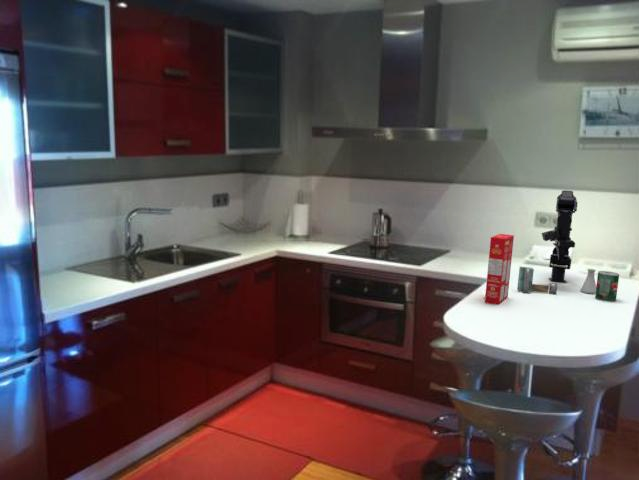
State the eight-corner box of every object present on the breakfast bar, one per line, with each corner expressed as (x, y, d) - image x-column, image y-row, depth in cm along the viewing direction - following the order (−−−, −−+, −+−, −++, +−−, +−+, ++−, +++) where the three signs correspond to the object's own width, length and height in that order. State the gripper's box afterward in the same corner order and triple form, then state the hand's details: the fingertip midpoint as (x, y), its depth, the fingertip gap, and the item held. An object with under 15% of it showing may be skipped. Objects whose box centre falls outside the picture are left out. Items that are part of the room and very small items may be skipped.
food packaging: (494, 295, 240) (500, 233, 237) (507, 297, 238) (513, 235, 234) (484, 302, 228) (490, 237, 224) (498, 304, 225) (505, 239, 221)
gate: (546, 291, 252) (549, 268, 250) (548, 293, 248) (551, 270, 247) (517, 289, 253) (519, 266, 251) (519, 291, 249) (521, 268, 248)
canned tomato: (618, 302, 239) (621, 275, 238) (597, 300, 241) (600, 273, 239) (613, 298, 247) (616, 272, 245) (592, 296, 249) (595, 270, 247)
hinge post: (548, 292, 251) (549, 283, 251) (555, 293, 251) (556, 283, 250) (549, 294, 248) (550, 284, 248) (557, 294, 248) (558, 285, 247)
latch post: (522, 292, 249) (524, 268, 248) (528, 292, 249) (530, 269, 247) (523, 293, 247) (525, 269, 245) (529, 293, 246) (531, 270, 245)
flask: (594, 291, 259) (597, 268, 258) (600, 294, 252) (603, 271, 251) (577, 289, 260) (579, 267, 259) (583, 293, 253) (585, 270, 251)
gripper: (539, 221, 269) (536, 255, 271) (549, 226, 251) (545, 262, 253) (565, 223, 267) (561, 257, 270) (577, 228, 249) (573, 264, 251)
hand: (559, 260), depth 261 cm, fingers closed
